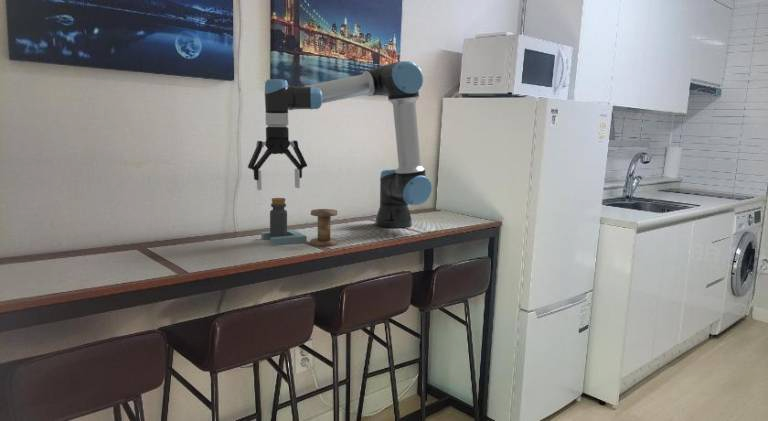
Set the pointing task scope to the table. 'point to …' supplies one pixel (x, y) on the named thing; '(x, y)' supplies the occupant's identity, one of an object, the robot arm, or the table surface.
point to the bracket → (285, 238)
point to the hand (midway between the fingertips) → (278, 188)
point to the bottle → (278, 218)
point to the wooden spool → (324, 227)
